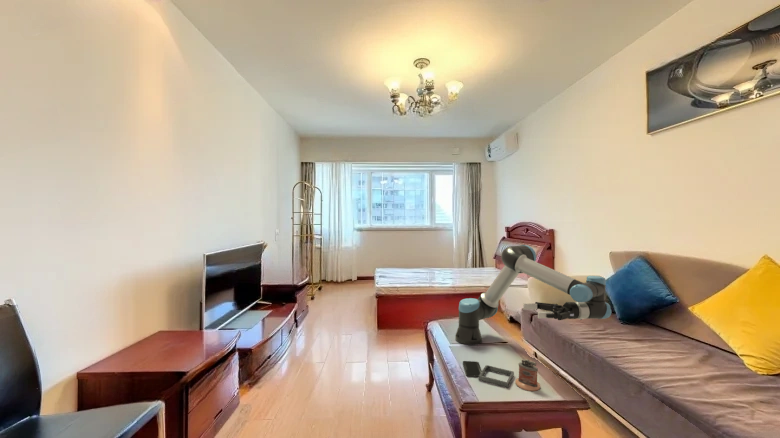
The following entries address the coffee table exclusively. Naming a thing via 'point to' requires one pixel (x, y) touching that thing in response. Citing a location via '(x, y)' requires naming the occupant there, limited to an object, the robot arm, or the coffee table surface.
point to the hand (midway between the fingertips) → (530, 310)
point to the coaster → (527, 386)
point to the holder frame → (495, 381)
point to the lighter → (528, 373)
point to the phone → (472, 368)
